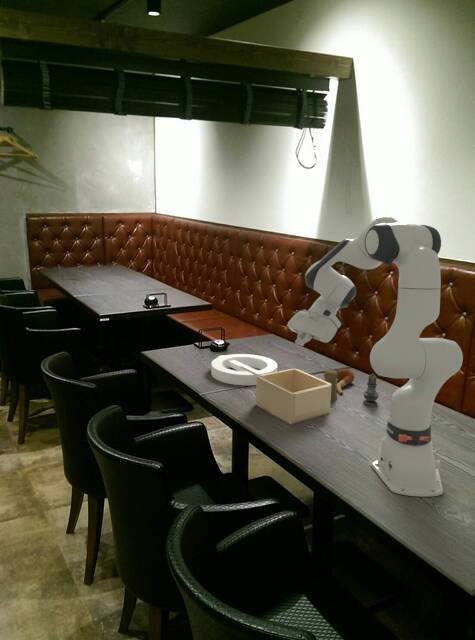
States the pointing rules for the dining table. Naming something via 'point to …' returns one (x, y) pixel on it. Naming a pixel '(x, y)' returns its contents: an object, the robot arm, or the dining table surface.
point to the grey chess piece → (371, 391)
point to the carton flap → (265, 379)
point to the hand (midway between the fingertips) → (298, 344)
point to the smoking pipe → (344, 378)
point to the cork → (332, 382)
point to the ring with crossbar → (241, 375)
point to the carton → (293, 395)
